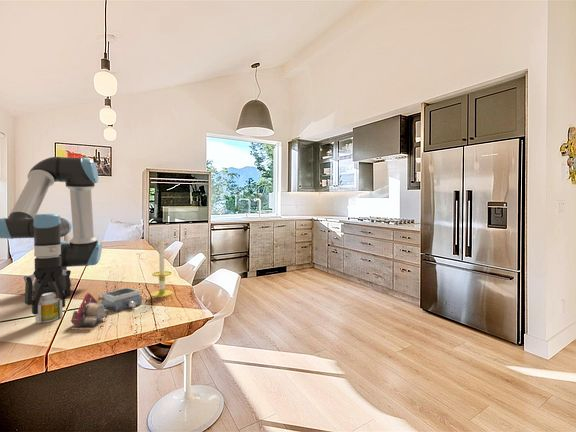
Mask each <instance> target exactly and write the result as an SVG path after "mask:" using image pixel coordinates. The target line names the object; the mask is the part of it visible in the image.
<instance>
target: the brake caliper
mask: <svg viewBox="0 0 576 432" xmlns="http://www.w3.org/2000/svg"><path fill="white" fill-rule="evenodd" d="M105 300H106V299H105V298H104V296H101V294H99V295H98V297H97V299H96V298H95V297H94V296H93V295H92V294H91V292H86V293H85V295H84V297H83V300H82V302H81V303H80V306H79V307H78V310H74V311H73V313H72V316H71V320H70V323H72V324H73V326H74V327H72V328H71V329H72V330H78V331H80V330H83V331H84V330H85V331H86V330H96V329H97V328H96V327H94V326H95V325H96V324H97V323H98V322H100V321H101V320H102V319H103V318H104V317H105V315H106V314H108V313H109V312H110V310H109V309H107V308H104V306H103V303H104V301H105Z"/></svg>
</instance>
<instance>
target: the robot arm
mask: <svg viewBox="0 0 576 432" xmlns="http://www.w3.org/2000/svg"><path fill="white" fill-rule="evenodd" d="M56 182H60V183H61V182H62V183H65V187H66V188H67V189H68V190H69V196H70V209H71V212H70V213H71V222H70V221H69V220H68V219H67V218H63V217H61V216H60V214H58V213H39V212H38V211H39V210H40V208H41V206H42V203H43V201H44V199H45V197H46V196H47V192H48V191H49V188H50V187H52V186H53V185H54V184H55V183H56ZM98 182H99V171H98V168H97V165H96V163H95V161H94V160H93V159H90V158H84V157H67V156H66V157H64V156H63V157H62V156H51V157H48V158H45V159H42V160H40V161H39V162H37V163H35V165H34V166H32V167H31V169H30V170H29V172H28V173H27V182H26V183H25V185H24V187H23V189H22V190H21V193H20V195H19V196H18V198H17V200H16V202H15V204H14V206H13V208H12V209H11V211H10V213H9V215H8V217H7V218H6V217H3V218H0V239H7V240H8V239H10V240H12V239H13V240H14V239H33V241H34V243H33V245H34V246H33V247H34V252H33V253H34V254H33V256H34V257H35V258H34V271H33V273H32V274H30V275H24V277H23V280H24V282H25V290H24V304H26V305H28V306H31V313H32V314H33V315H34V317H35V323H36V324H41V323H42V322H41V305H40V304H39V303H40V301H41V298H42V295H43V294H45V293H56V295H57V296H58V298H57V299H58V318H63V316H64V315H63V308H65V306H66V299H67V298H68V297H71V295H72V291H71V287H72V280H71V277H70V275H71V273H72V271H71V270H70V269H68V268H70V267H89V266H90V267H91V266H96V265H97V264H98V263H99V262H100V260H101V255H102V250H103V249H102V248H103V246H102V242H99V241H98V238H97V237H96V236H95V234H94V233H95V232H94V216H93V200H92V189H93V188H95V186H96V185H95V184H97V183H98ZM71 230H72V237H71V239H70V240H69V242H67V241H66V240H61V239H62V237H65V236H67V235H68V234H69V233H70V232H71Z"/></svg>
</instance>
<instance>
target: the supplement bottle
mask: <svg viewBox="0 0 576 432" xmlns="http://www.w3.org/2000/svg"><path fill="white" fill-rule="evenodd" d="M58 299H59V298H57V292H48V293H42V294H41V299H40V300H39V303H38V304H40V305H41V323H50V322H51V323H52V322H54V321H56V320H58V319H59V317H58Z"/></svg>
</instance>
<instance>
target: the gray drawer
mask: <svg viewBox="0 0 576 432" xmlns="http://www.w3.org/2000/svg"><path fill="white" fill-rule="evenodd" d="M100 295H101V296H104V298H105V299H106V300H105V301H104V303H103V306H104V309H106V310H109V311H112V312H116V313H117V312H121V311H123V310H126V308H127V309H129V308H131V309H134V308H136V305H137V306H139V305H142V304H143V296H142V295H140V290H139V289H135V288H131V287H127V286H126V287H124V288H123V287H122V288H119V289H116V290H111V291H107V292H102V293H101V294H100Z"/></svg>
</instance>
